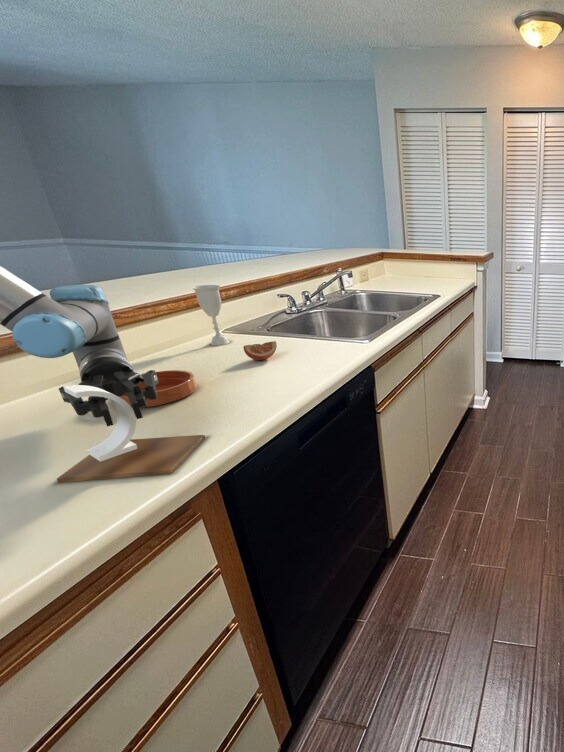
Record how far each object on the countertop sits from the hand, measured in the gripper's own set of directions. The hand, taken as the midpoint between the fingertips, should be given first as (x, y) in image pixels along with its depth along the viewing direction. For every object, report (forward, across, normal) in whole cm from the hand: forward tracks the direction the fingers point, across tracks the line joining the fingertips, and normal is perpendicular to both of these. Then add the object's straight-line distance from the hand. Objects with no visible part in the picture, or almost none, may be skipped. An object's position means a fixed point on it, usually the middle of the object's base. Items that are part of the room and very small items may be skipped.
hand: (122, 414), depth 66 cm
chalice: (-74, -28, -11) cm, 80 cm away
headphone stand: (-6, +2, -8) cm, 10 cm away
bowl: (-36, -7, -11) cm, 38 cm away
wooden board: (-5, 0, -11) cm, 12 cm away
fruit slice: (-47, -33, -11) cm, 58 cm away
